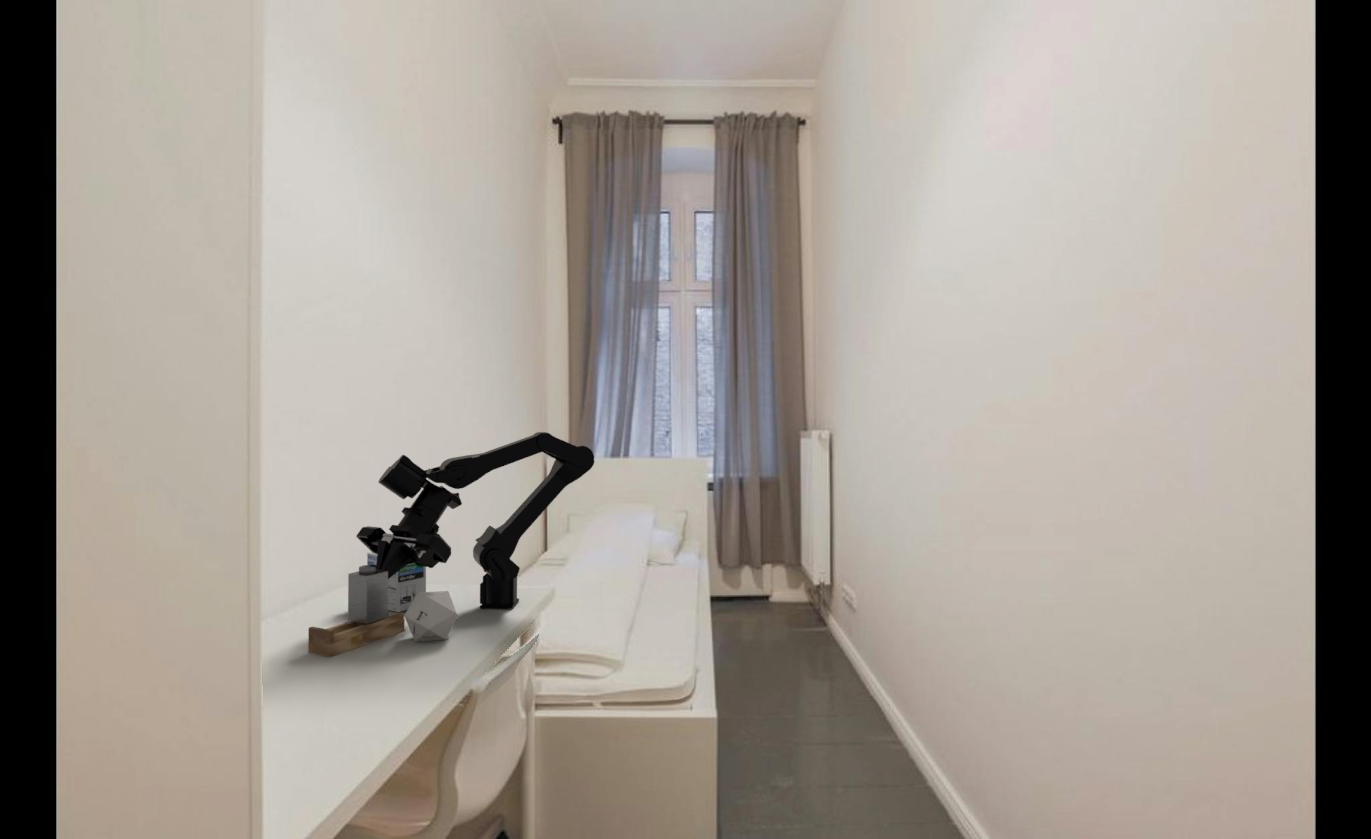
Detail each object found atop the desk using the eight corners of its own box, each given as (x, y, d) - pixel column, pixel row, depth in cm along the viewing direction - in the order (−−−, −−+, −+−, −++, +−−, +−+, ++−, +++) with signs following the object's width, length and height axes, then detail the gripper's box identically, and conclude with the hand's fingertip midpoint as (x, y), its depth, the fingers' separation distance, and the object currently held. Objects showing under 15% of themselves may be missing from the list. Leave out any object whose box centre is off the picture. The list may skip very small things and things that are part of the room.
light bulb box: (427, 605, 137) (427, 552, 137) (397, 613, 131) (398, 558, 131) (394, 597, 142) (395, 546, 142) (365, 605, 137) (365, 552, 137)
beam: (383, 626, 122) (383, 604, 122) (404, 630, 120) (405, 608, 120) (307, 652, 109) (308, 627, 109) (330, 657, 107) (330, 632, 107)
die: (397, 640, 117) (391, 605, 111) (431, 605, 124) (428, 571, 118) (435, 661, 115) (431, 627, 109) (468, 625, 122) (466, 591, 116)
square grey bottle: (369, 618, 119) (370, 563, 119) (387, 622, 117) (388, 565, 117) (348, 625, 115) (348, 567, 115) (366, 629, 113) (366, 570, 113)
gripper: (483, 541, 130) (441, 613, 120) (411, 534, 138) (366, 601, 128) (454, 506, 123) (406, 579, 113) (380, 500, 131) (329, 568, 121)
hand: (377, 583), depth 119 cm, fingers closed, pressing on square grey bottle
